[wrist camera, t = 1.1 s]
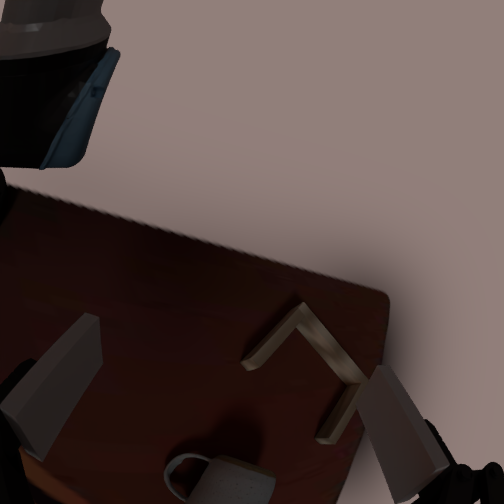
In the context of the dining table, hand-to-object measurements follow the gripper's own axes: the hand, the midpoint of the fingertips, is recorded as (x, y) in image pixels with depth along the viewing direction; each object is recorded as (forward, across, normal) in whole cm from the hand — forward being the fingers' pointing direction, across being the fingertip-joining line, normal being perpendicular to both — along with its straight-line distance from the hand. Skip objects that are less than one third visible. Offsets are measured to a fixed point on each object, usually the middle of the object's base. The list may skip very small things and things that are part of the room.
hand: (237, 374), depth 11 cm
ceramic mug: (+5, 0, -23) cm, 24 cm away
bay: (+20, +12, -16) cm, 28 cm away
